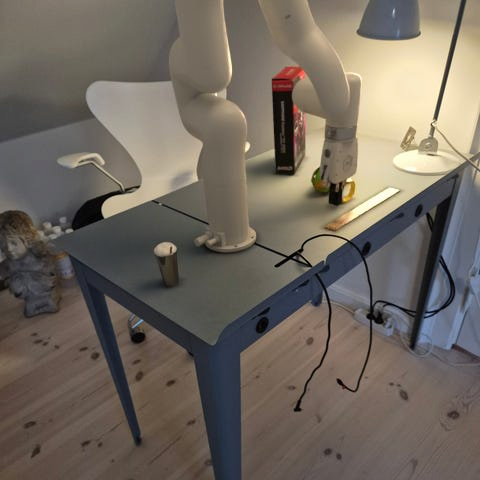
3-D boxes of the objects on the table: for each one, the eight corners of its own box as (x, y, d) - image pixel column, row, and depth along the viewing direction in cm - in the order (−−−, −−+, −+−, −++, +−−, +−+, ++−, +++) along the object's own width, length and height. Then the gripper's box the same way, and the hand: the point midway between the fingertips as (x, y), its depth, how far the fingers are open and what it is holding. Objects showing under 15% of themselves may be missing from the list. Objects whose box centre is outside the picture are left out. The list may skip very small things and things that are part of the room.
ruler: (335, 231, 109) (335, 230, 109) (324, 227, 111) (324, 226, 111) (399, 191, 125) (399, 190, 125) (389, 188, 127) (389, 187, 127)
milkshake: (169, 292, 94) (160, 250, 87) (157, 282, 97) (148, 240, 91) (188, 284, 95) (181, 242, 89) (175, 274, 99) (168, 233, 93)
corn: (305, 167, 123) (344, 146, 134) (302, 193, 128) (340, 171, 139) (328, 174, 119) (366, 152, 130) (324, 201, 124) (362, 177, 135)
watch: (348, 195, 125) (350, 174, 121) (356, 198, 123) (358, 177, 120) (334, 202, 122) (336, 181, 118) (343, 205, 120) (344, 184, 117)
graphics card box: (294, 175, 139) (295, 77, 122) (273, 174, 141) (270, 78, 124) (305, 157, 152) (307, 65, 135) (285, 156, 154) (285, 66, 137)
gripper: (334, 142, 102) (328, 217, 113) (371, 127, 110) (362, 198, 121) (308, 136, 106) (305, 209, 118) (346, 122, 114) (339, 192, 126)
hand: (334, 203), depth 119 cm, fingers closed
